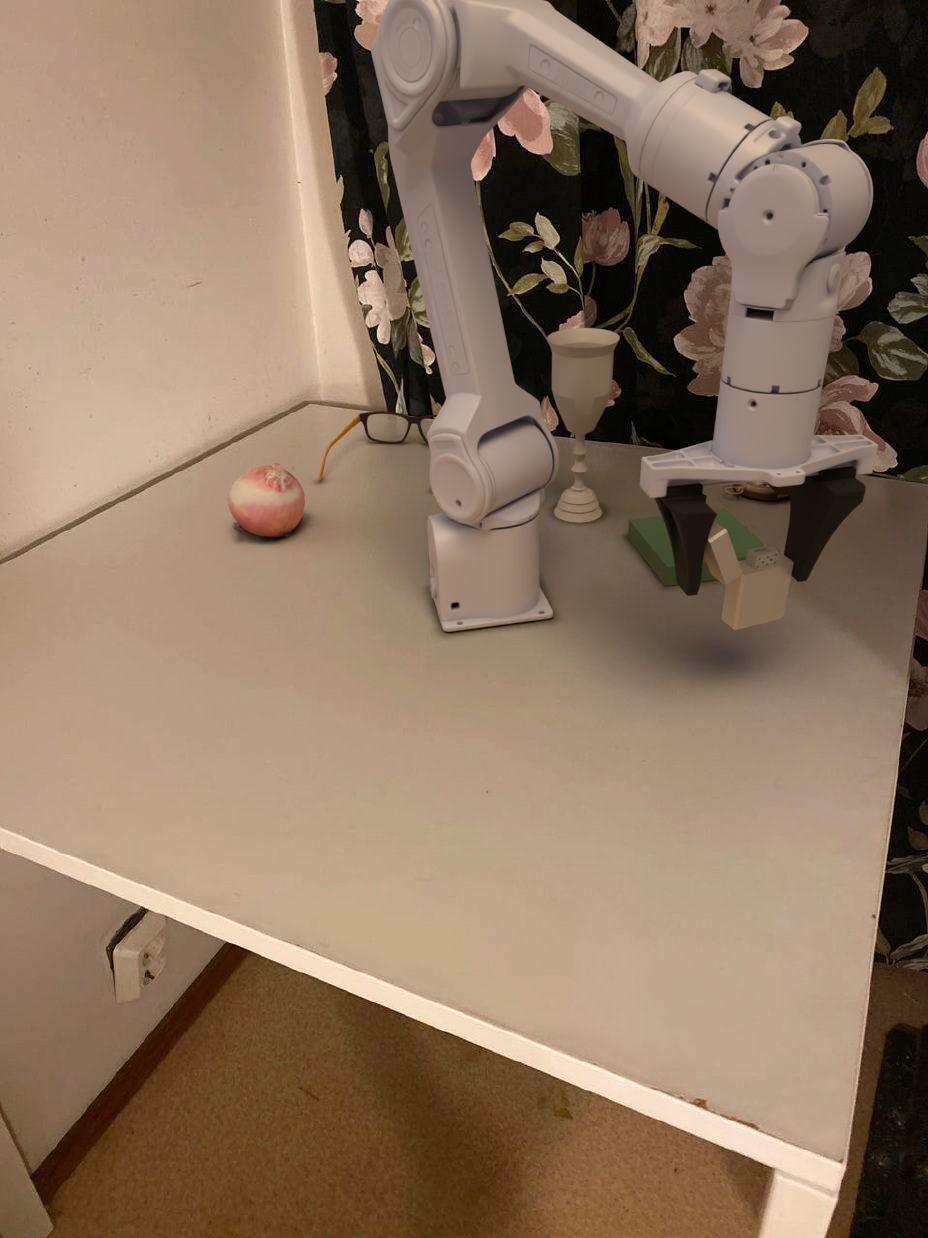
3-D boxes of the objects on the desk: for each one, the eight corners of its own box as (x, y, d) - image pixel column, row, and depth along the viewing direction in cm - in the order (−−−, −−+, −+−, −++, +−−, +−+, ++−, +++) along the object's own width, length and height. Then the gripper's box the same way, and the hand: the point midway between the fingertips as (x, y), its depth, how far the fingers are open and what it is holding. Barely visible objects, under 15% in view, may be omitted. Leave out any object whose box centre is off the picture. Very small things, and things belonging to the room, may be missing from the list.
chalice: (614, 526, 88) (624, 346, 78) (547, 528, 88) (549, 349, 78) (606, 496, 94) (614, 326, 84) (543, 498, 94) (544, 329, 85)
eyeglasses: (470, 446, 109) (469, 415, 107) (434, 491, 97) (432, 458, 95) (365, 439, 112) (362, 409, 110) (318, 482, 101) (313, 449, 99)
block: (665, 586, 77) (667, 566, 76) (627, 537, 85) (628, 519, 84) (770, 572, 78) (773, 553, 77) (723, 526, 87) (725, 507, 86)
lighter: (769, 605, 61) (787, 501, 57) (785, 617, 60) (805, 512, 56) (682, 627, 59) (694, 521, 55) (697, 640, 58) (710, 532, 54)
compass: (765, 474, 97) (774, 411, 93) (816, 500, 91) (829, 433, 87) (707, 489, 94) (714, 424, 91) (756, 516, 88) (766, 448, 84)
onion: (282, 553, 86) (270, 486, 82) (217, 542, 88) (202, 477, 85) (322, 519, 92) (312, 455, 88) (260, 511, 95) (248, 448, 91)
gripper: (678, 412, 46) (658, 626, 54) (927, 388, 48) (875, 597, 55) (634, 375, 52) (621, 572, 59) (857, 354, 54) (818, 548, 61)
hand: (740, 581), depth 58 cm, fingers closed on lighter, 7 cm apart
